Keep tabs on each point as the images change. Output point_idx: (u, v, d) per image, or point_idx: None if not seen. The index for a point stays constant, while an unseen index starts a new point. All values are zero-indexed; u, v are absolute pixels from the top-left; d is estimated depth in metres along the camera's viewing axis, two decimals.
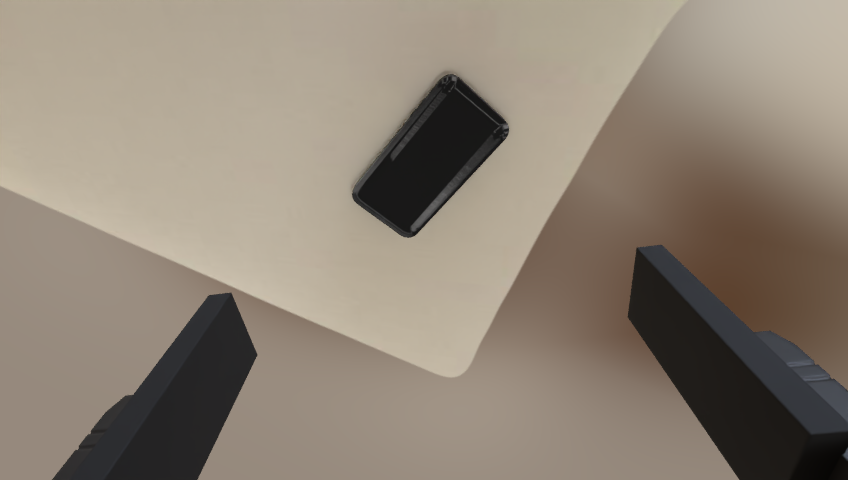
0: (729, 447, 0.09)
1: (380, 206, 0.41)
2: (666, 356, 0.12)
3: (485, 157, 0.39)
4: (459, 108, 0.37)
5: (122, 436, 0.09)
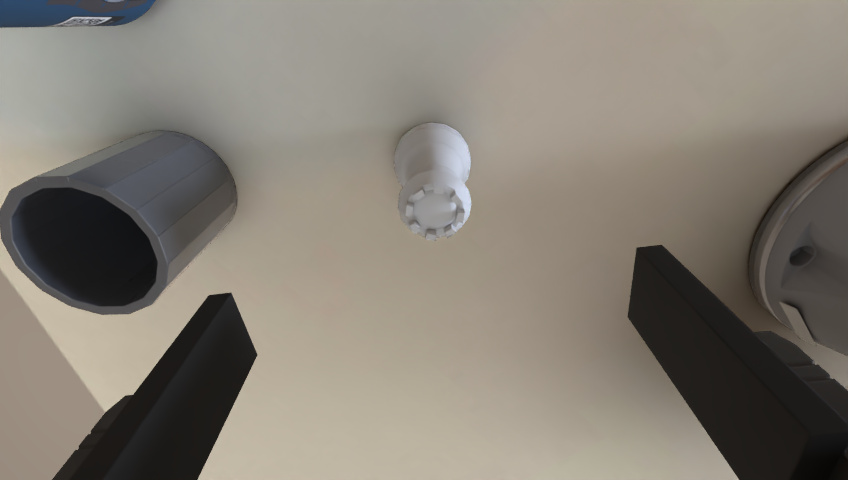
0: (729, 447, 0.09)
1: None
2: (666, 355, 0.12)
3: None
4: None
5: (122, 436, 0.09)
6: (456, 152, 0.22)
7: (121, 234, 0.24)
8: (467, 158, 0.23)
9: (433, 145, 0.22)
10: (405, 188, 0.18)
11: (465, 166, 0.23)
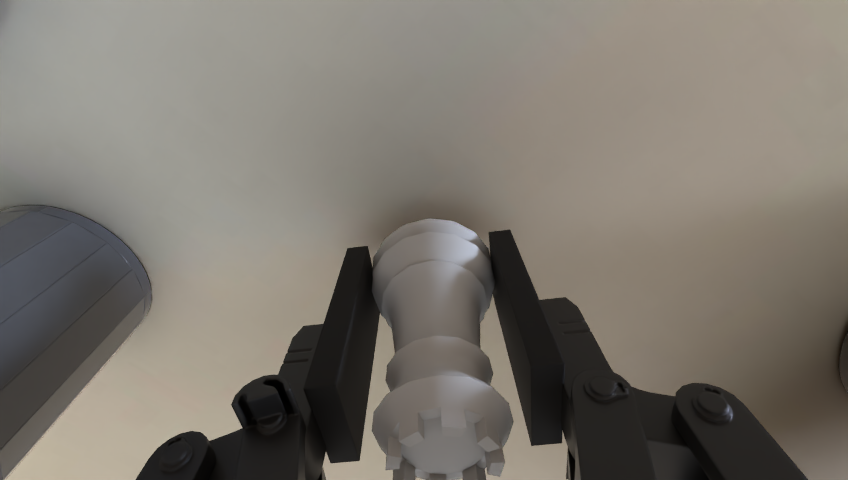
0: (519, 390, 0.11)
1: None
2: (502, 322, 0.14)
3: None
4: None
5: (335, 347, 0.11)
6: (473, 275, 0.13)
7: None
8: (490, 278, 0.14)
9: (434, 270, 0.13)
10: (385, 407, 0.09)
11: (487, 292, 0.14)
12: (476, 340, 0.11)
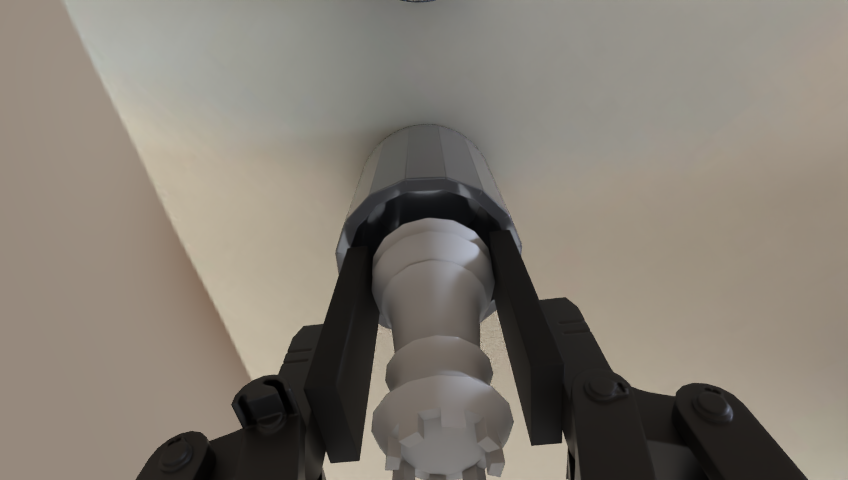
0: (519, 390, 0.11)
1: None
2: (502, 322, 0.14)
3: None
4: None
5: (334, 347, 0.11)
6: (474, 275, 0.13)
7: (380, 242, 0.21)
8: (490, 278, 0.14)
9: (434, 269, 0.13)
10: (384, 407, 0.09)
11: (487, 291, 0.14)
12: (476, 340, 0.11)
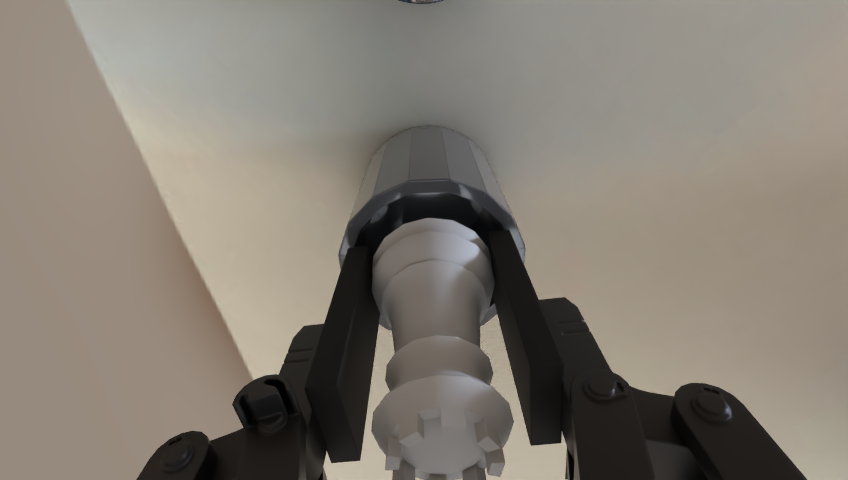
0: (519, 390, 0.11)
1: None
2: (502, 322, 0.14)
3: None
4: None
5: (335, 347, 0.11)
6: (473, 275, 0.13)
7: None
8: (490, 278, 0.14)
9: (434, 269, 0.13)
10: (384, 407, 0.09)
11: (487, 291, 0.14)
12: (476, 340, 0.11)
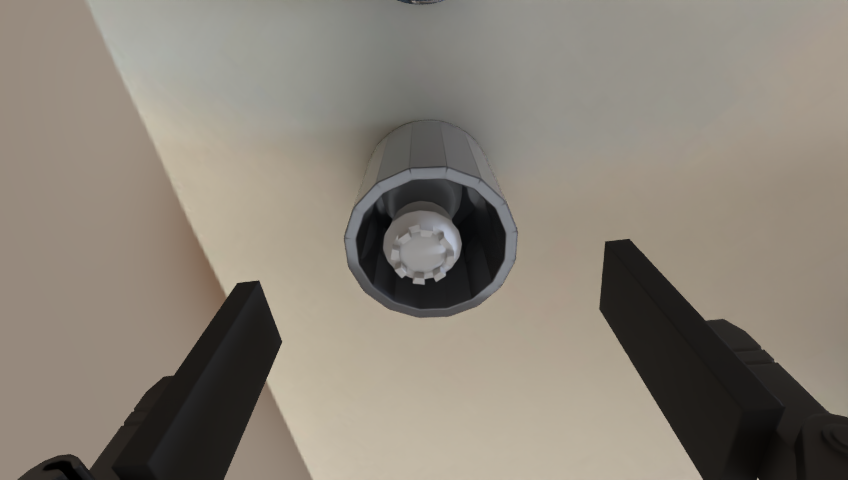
0: (682, 428, 0.10)
1: None
2: (631, 344, 0.12)
3: None
4: None
5: (169, 411, 0.09)
6: (447, 182, 0.21)
7: (384, 231, 0.23)
8: (458, 187, 0.22)
9: None
10: (390, 229, 0.17)
11: (456, 196, 0.22)
12: None
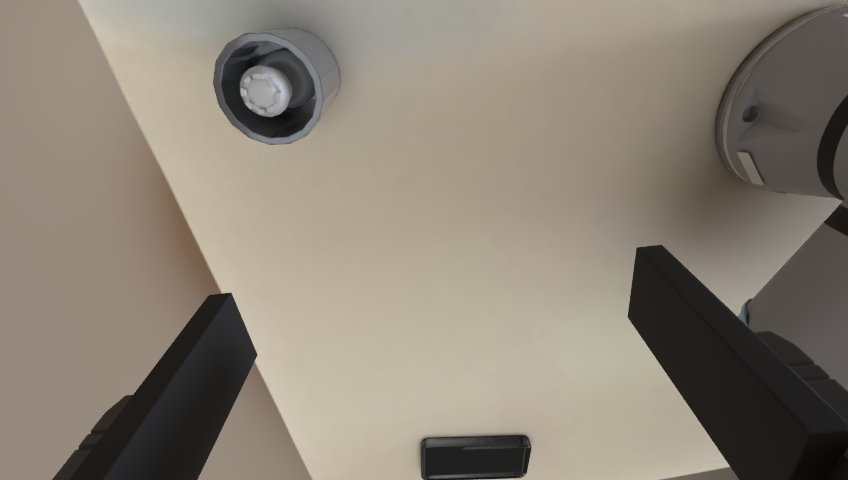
0: (729, 447, 0.09)
1: (429, 459, 0.58)
2: (666, 356, 0.12)
3: (501, 477, 0.60)
4: (516, 455, 0.58)
5: (122, 436, 0.09)
6: (298, 66, 0.32)
7: None
8: None
9: (279, 60, 0.31)
10: (242, 78, 0.27)
11: (307, 78, 0.32)
12: (287, 77, 0.30)
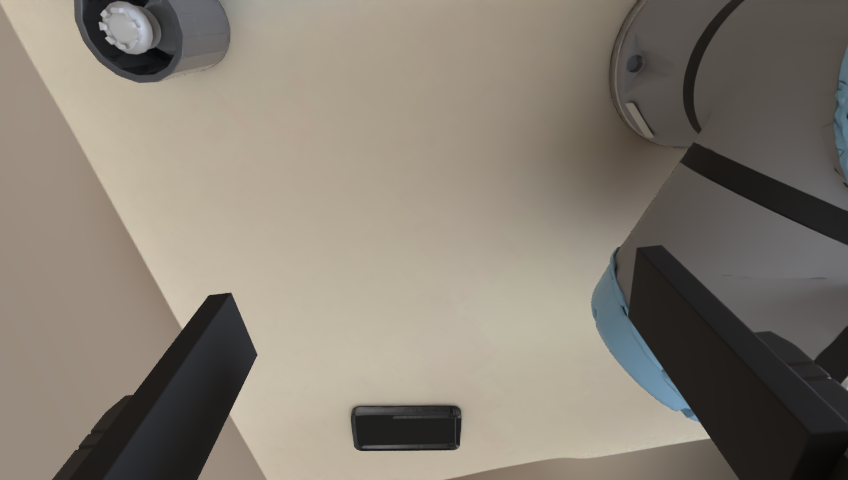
0: (729, 447, 0.09)
1: (360, 428, 0.58)
2: (666, 355, 0.12)
3: (434, 449, 0.60)
4: (447, 426, 0.58)
5: (122, 436, 0.09)
6: None
7: (147, 51, 0.34)
8: None
9: (156, 4, 0.32)
10: None
11: None
12: (158, 18, 0.30)
